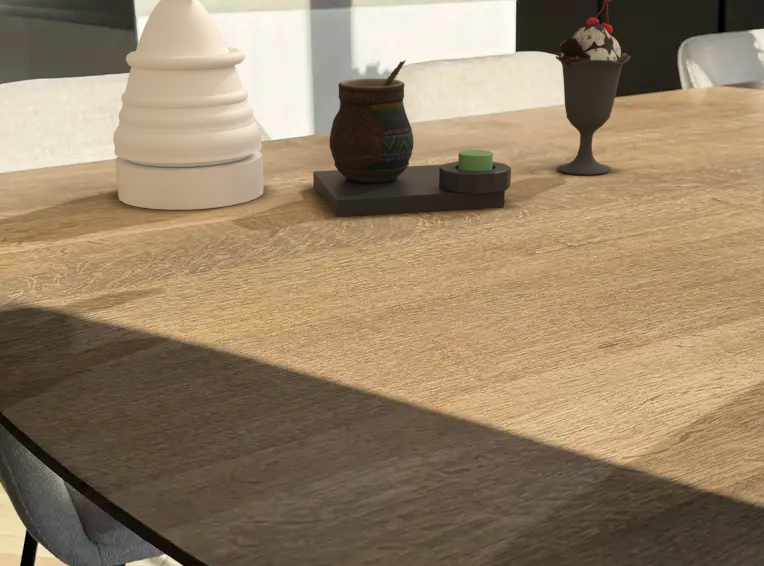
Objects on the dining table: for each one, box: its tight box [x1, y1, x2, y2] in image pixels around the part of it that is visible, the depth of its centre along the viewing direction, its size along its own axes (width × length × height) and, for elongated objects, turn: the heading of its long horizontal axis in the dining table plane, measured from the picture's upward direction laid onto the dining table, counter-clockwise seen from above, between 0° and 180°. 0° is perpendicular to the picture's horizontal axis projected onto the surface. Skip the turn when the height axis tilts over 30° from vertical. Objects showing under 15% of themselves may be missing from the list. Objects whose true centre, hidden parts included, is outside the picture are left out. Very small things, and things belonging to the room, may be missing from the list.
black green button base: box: [312, 161, 512, 218], centre depth 95 cm, size 15×13×3 cm
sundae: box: [555, 0, 631, 176], centre depth 102 cm, size 7×7×15 cm
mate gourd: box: [329, 59, 415, 183], centre depth 94 cm, size 7×8×10 cm
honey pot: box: [112, 0, 265, 211], centre depth 95 cm, size 13×13×18 cm
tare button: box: [457, 149, 494, 171], centre depth 92 cm, size 3×3×2 cm
